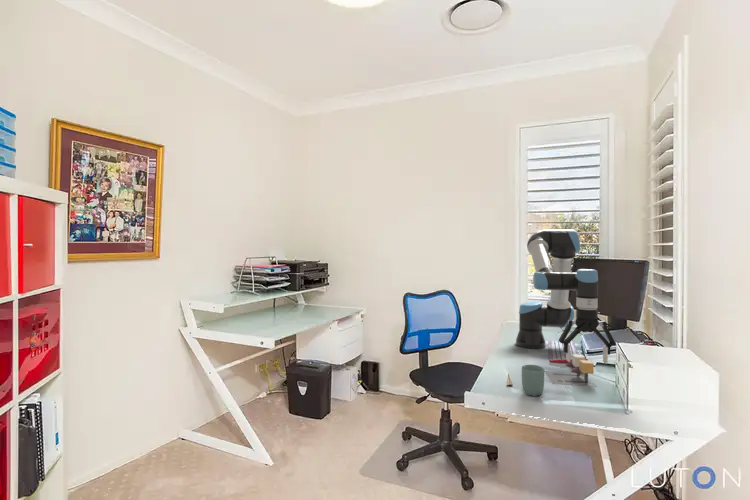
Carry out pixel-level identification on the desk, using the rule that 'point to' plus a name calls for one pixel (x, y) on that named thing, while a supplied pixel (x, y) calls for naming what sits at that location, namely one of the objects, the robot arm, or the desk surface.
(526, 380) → the cup
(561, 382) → the mixer console
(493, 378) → the desk surface
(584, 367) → the fader amber
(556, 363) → the desk surface
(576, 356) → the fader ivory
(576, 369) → the video game controller
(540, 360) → the desk surface
